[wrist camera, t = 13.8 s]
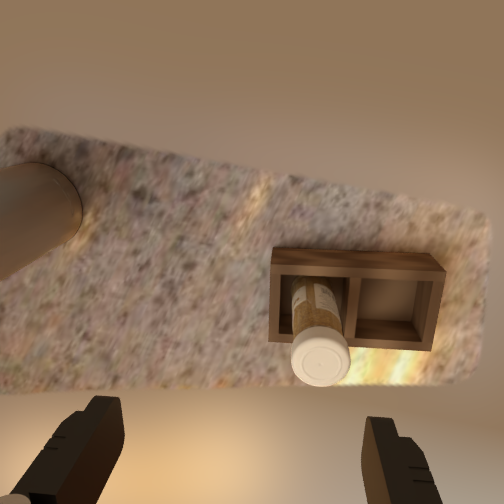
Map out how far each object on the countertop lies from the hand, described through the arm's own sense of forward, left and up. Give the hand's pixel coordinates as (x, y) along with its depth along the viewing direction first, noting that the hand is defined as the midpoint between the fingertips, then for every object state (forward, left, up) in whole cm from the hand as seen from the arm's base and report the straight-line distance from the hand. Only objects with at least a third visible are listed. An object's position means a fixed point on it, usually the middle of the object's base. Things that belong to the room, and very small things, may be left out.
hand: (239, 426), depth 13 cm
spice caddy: (+4, -11, -30) cm, 32 cm away
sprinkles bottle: (+1, -10, -30) cm, 31 cm away
